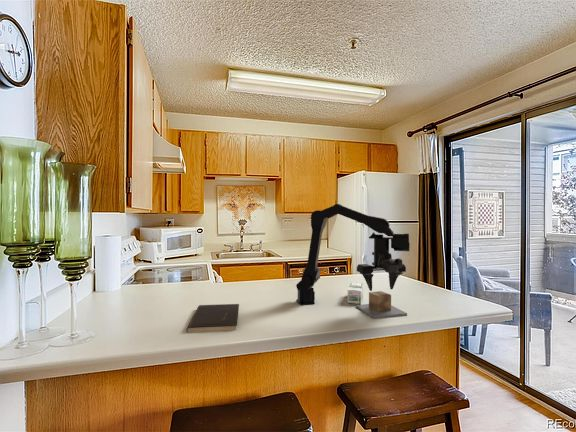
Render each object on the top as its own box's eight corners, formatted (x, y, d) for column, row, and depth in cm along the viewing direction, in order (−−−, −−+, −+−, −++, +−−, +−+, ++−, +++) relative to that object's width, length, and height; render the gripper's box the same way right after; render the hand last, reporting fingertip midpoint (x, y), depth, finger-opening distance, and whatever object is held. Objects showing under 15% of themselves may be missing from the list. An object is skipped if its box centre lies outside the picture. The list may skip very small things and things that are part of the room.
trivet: (374, 318, 112) (374, 316, 112) (355, 307, 125) (355, 305, 125) (407, 315, 115) (407, 313, 115) (385, 304, 129) (385, 302, 129)
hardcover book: (239, 309, 123) (239, 303, 123) (237, 331, 100) (237, 324, 100) (198, 311, 121) (198, 305, 121) (186, 334, 98) (186, 326, 98)
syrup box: (350, 294, 144) (347, 303, 130) (350, 282, 144) (347, 290, 130) (363, 295, 142) (361, 305, 128) (363, 282, 142) (361, 291, 128)
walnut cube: (378, 311, 117) (378, 296, 117) (368, 307, 122) (369, 292, 122) (391, 310, 119) (391, 294, 119) (381, 305, 124) (381, 291, 124)
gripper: (371, 253, 110) (370, 297, 110) (415, 252, 114) (415, 293, 115) (356, 250, 120) (355, 289, 121) (397, 248, 125) (397, 286, 125)
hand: (381, 289), depth 120 cm, fingers open, 9 cm apart
